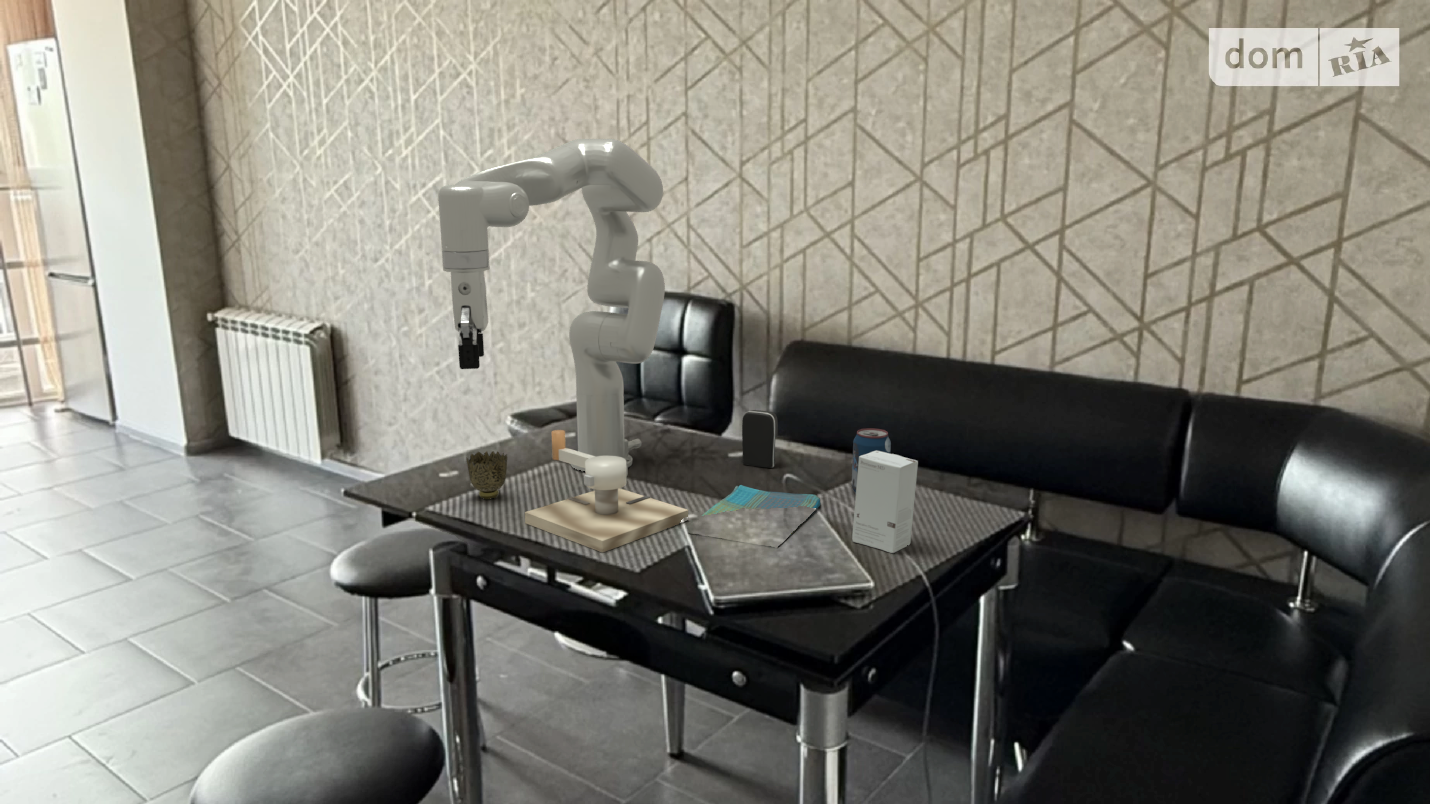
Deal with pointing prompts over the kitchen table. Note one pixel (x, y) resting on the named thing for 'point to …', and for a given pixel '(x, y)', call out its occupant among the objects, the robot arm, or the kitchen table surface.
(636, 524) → the post board
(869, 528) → the skincare box
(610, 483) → the crank handle
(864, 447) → the soda can
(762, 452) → the battery charger
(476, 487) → the cup
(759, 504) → the dish towel
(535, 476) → the kitchen table surface
